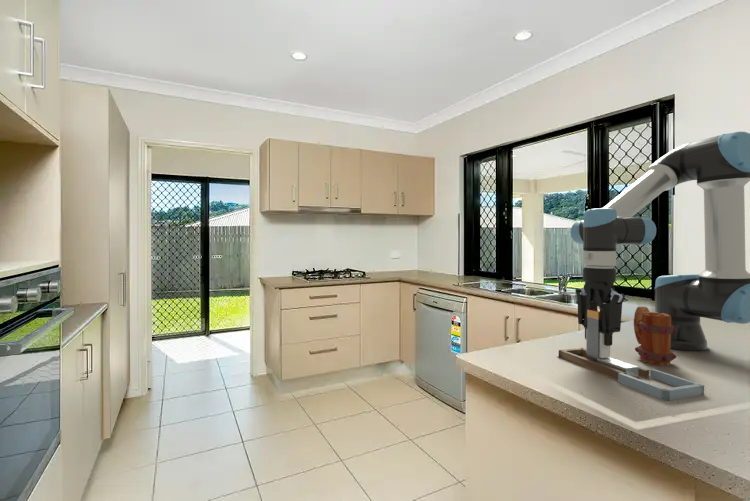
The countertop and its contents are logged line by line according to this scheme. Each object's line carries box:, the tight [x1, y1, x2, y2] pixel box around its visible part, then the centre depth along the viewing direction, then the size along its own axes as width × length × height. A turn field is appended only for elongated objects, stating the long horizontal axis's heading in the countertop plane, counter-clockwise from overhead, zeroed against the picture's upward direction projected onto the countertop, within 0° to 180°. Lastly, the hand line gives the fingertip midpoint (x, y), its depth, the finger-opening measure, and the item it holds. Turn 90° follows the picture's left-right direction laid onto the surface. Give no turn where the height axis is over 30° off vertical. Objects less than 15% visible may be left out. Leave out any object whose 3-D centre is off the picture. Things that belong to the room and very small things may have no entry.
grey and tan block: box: [587, 308, 603, 362], centre depth 99 cm, size 4×4×14 cm
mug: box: [633, 306, 677, 367], centre depth 105 cm, size 15×8×15 cm, turn 168°
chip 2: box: [611, 361, 640, 378], centre depth 92 cm, size 4×4×2 cm
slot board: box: [556, 347, 651, 382], centre depth 99 cm, size 10×20×3 cm, turn 16°
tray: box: [617, 368, 705, 402], centre depth 84 cm, size 11×11×3 cm
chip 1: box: [597, 356, 624, 367], centre depth 96 cm, size 4×4×2 cm
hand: (597, 354), depth 99 cm, fingers closed on grey and tan block, 3 cm apart
